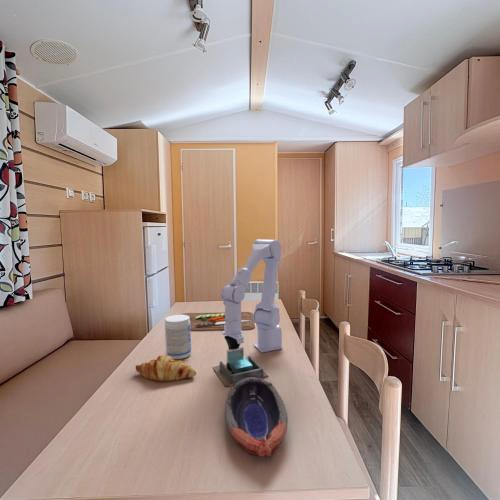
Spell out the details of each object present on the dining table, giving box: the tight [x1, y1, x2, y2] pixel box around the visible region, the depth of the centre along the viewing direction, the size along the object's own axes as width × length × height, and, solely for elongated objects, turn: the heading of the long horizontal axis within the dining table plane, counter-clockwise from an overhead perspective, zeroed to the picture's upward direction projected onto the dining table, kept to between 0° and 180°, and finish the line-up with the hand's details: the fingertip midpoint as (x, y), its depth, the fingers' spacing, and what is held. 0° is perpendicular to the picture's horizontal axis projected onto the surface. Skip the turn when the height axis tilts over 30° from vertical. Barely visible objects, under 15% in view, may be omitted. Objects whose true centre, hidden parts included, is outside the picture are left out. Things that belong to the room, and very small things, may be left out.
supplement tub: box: [164, 314, 192, 360], centre depth 118 cm, size 10×10×15 cm
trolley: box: [225, 346, 254, 374], centre depth 103 cm, size 7×9×6 cm
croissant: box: [135, 355, 197, 382], centre depth 102 cm, size 21×10×8 cm, turn 83°
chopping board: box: [180, 311, 256, 332], centre depth 158 cm, size 45×27×3 cm, turn 92°
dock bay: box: [212, 355, 269, 387], centre depth 104 cm, size 15×14×3 cm
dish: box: [224, 377, 288, 457], centre depth 78 cm, size 16×31×5 cm, turn 3°
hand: (233, 355), depth 109 cm, fingers closed
